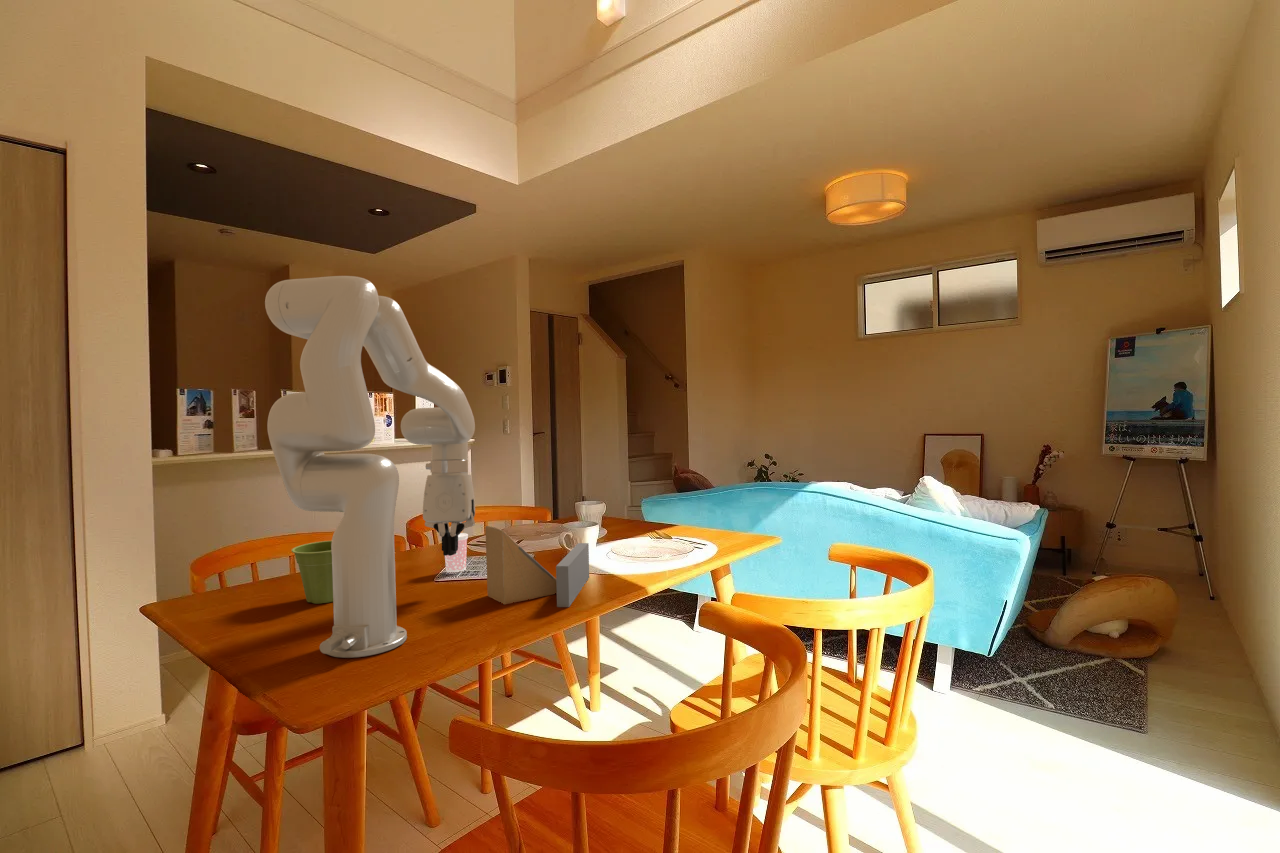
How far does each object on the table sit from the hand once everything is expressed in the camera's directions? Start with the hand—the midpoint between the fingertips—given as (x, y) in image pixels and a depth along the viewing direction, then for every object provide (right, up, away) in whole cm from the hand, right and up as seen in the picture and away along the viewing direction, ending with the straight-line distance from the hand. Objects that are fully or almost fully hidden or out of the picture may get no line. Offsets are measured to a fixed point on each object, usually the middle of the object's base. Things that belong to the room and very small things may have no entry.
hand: (449, 554), depth 133 cm
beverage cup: (-4, -8, +19) cm, 21 cm away
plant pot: (-25, -9, -2) cm, 27 cm away
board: (+27, -8, -1) cm, 28 cm away
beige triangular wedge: (+17, -8, -1) cm, 19 cm away
